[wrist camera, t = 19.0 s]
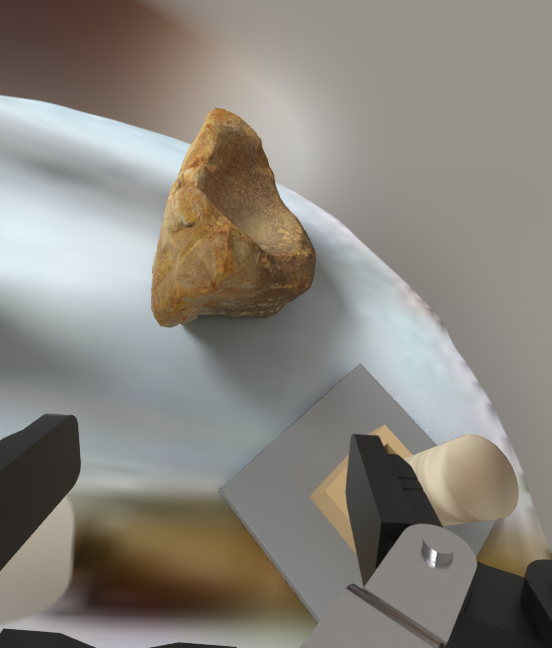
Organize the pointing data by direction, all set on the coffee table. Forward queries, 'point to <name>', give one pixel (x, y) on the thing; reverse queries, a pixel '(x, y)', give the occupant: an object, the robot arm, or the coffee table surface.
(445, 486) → the wooden peg
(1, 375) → the coffee table surface
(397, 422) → the collar board
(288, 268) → the rough brown rock
